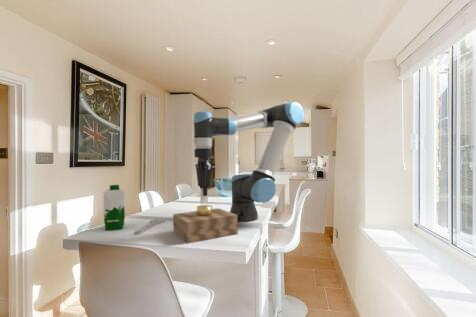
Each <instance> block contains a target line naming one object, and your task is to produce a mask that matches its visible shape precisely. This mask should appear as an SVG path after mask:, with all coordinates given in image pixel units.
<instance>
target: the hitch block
mask: <svg viewBox="0 0 476 317" xmlns="http://www.w3.org/2000/svg"><path fill="white" fill-rule="evenodd" d="M172 218H173V220H172V221H173V223H172V224H173V234H175V235H176V236H178V237H179V238H180V239H182V240H183V241H184V242H186V243H187V244H190V243H191V244H192V243H197V242H203V241H207V240H212V239H217V238H223V237H230V236H235V235H238V234H239V233H238V232H239V230H238V228H239V227H238V226H239V224H238V222H239V221H238V220H237V215H236V214H233V213H230V211H228V210H223V209H221V208H212V215H210V216H198V215H197V210H194V211H188V212H187V211H186V212H181V213H174V214H172Z"/></svg>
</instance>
